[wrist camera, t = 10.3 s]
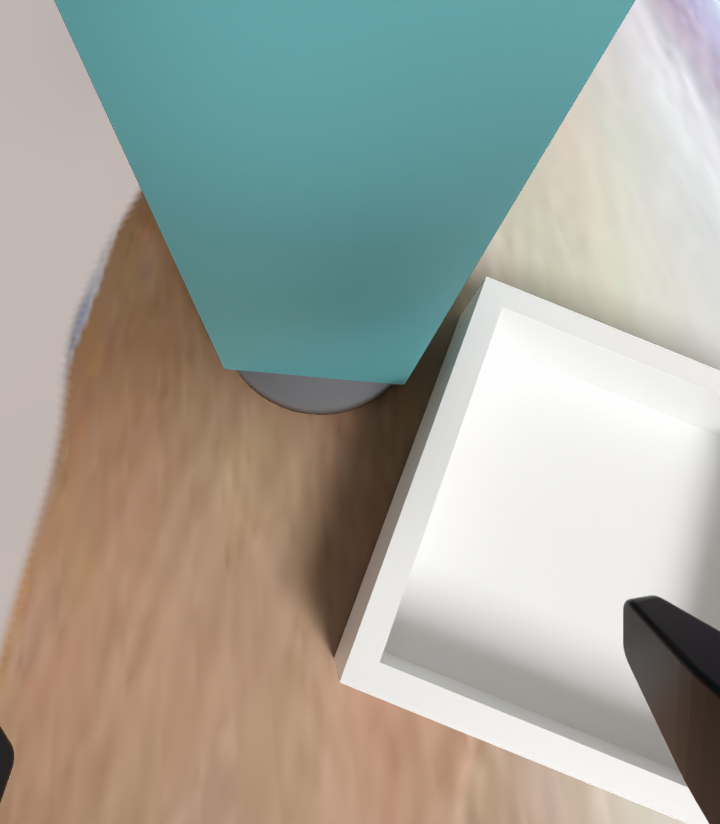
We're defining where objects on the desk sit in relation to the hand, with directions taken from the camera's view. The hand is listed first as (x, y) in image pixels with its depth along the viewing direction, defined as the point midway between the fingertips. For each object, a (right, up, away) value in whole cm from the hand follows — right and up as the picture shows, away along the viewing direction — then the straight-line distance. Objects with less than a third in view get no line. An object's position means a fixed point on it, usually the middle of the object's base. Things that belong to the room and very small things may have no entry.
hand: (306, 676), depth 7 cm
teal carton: (-1, +7, +11) cm, 13 cm away
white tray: (+8, -1, +11) cm, 13 cm away
